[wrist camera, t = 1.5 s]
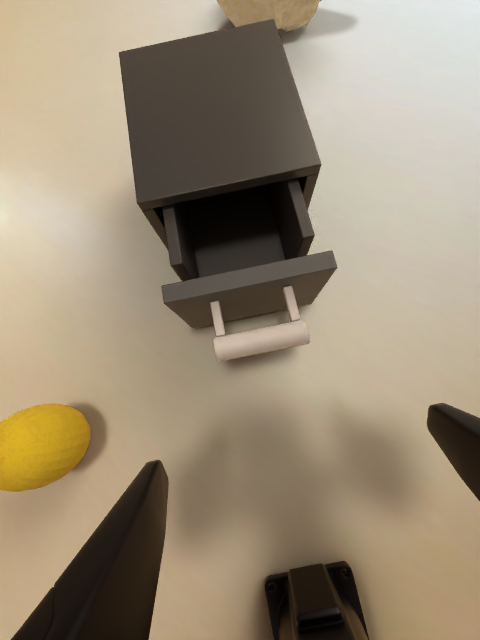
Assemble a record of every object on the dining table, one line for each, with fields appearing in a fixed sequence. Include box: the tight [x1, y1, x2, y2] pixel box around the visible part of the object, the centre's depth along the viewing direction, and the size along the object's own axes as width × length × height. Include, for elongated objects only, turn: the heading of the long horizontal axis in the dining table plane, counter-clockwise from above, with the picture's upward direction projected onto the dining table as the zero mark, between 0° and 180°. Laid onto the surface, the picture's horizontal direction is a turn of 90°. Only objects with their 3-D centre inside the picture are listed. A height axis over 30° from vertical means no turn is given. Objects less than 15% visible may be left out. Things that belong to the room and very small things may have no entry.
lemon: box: [0, 404, 90, 492], centre depth 19 cm, size 6×6×8 cm
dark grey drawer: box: [162, 178, 337, 362], centre depth 21 cm, size 16×11×8 cm, turn 11°
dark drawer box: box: [119, 19, 321, 249], centre depth 23 cm, size 14×12×10 cm
